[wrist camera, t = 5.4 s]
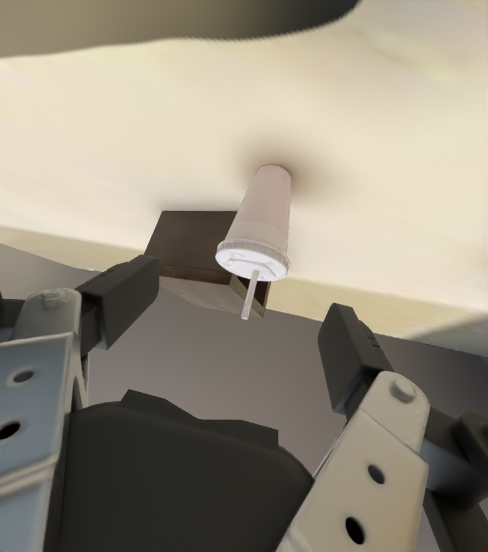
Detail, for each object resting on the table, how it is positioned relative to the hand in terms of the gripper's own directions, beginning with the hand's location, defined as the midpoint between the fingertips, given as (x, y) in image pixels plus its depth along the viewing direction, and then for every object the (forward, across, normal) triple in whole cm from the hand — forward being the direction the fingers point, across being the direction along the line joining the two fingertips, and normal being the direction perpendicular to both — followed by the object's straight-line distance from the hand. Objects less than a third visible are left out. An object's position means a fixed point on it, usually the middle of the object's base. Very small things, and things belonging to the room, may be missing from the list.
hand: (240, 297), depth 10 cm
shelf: (+27, +6, +7) cm, 29 cm away
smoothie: (+16, 0, -5) cm, 17 cm away
